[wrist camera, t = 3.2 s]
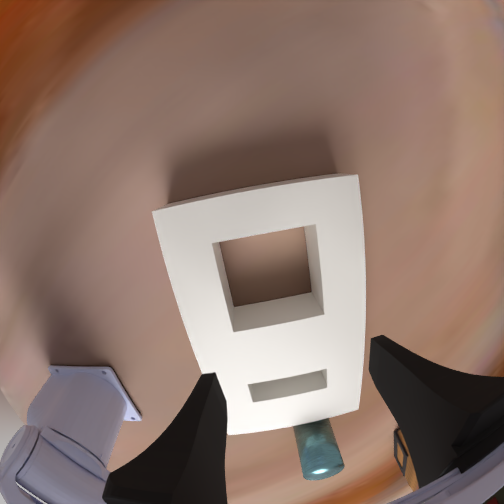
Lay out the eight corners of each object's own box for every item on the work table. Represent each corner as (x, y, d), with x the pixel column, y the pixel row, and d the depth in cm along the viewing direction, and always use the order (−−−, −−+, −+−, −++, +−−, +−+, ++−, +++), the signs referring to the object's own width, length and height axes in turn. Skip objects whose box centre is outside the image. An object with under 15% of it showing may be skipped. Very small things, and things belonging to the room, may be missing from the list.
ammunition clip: (393, 430, 28) (424, 492, 16) (405, 424, 28) (437, 485, 16) (394, 456, 31) (416, 506, 19) (403, 451, 31) (427, 500, 19)
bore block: (229, 408, 24) (228, 435, 20) (167, 204, 18) (152, 211, 15) (347, 385, 24) (358, 409, 20) (337, 173, 18) (357, 174, 15)
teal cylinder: (294, 434, 26) (304, 483, 19) (291, 416, 25) (302, 468, 18) (328, 427, 26) (342, 473, 19) (328, 407, 25) (345, 458, 18)
